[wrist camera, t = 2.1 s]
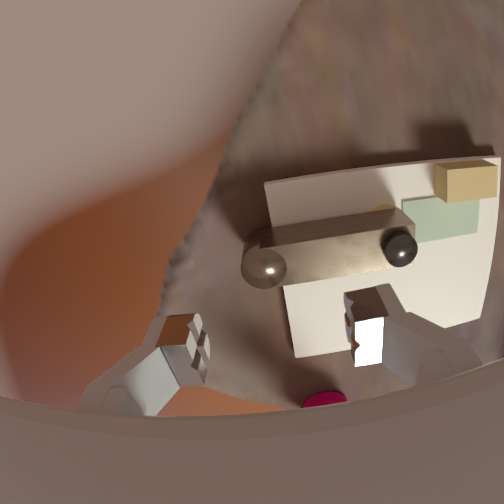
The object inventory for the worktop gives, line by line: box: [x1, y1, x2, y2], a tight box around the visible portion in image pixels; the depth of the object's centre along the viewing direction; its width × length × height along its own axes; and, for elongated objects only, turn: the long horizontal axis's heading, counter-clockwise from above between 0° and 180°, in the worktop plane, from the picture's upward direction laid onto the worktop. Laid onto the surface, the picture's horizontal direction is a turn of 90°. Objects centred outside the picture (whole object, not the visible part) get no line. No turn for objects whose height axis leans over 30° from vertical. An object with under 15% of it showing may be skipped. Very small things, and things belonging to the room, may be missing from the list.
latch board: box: [264, 155, 501, 358], centre depth 29 cm, size 24×20×4 cm
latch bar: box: [241, 208, 418, 289], centre depth 26 cm, size 14×4×5 cm, turn 101°
